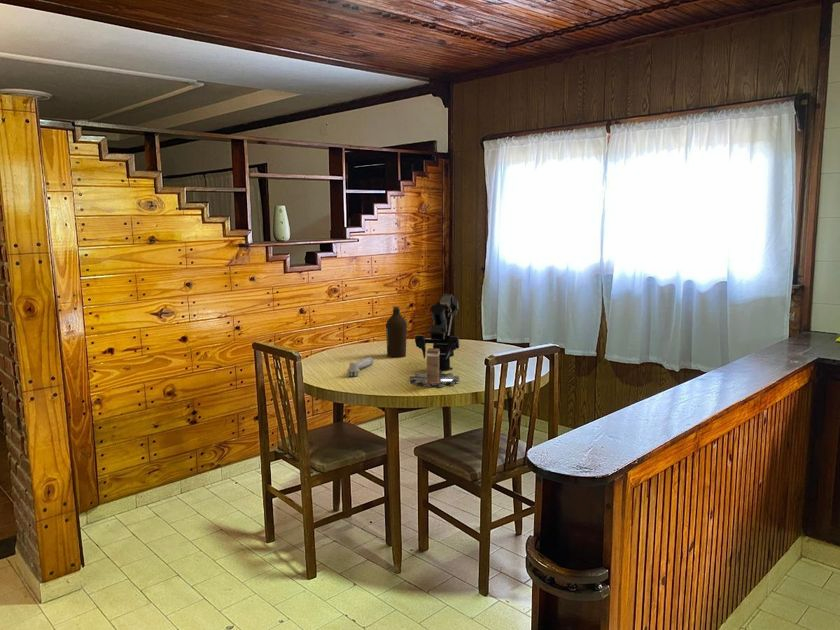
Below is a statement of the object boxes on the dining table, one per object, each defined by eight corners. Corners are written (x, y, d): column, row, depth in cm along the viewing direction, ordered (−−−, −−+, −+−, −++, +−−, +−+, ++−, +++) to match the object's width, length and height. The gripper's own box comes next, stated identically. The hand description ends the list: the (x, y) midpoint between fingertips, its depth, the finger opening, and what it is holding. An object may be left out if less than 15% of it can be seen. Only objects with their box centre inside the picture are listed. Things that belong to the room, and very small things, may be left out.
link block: (428, 378, 261) (428, 348, 259) (439, 379, 260) (439, 348, 258) (426, 381, 257) (426, 350, 255) (437, 381, 256) (437, 351, 254)
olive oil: (408, 353, 318) (408, 305, 314) (405, 358, 307) (405, 308, 304) (388, 353, 319) (387, 304, 315) (384, 357, 309) (383, 307, 305)
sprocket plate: (400, 378, 268) (400, 373, 268) (442, 372, 279) (442, 367, 278) (425, 390, 250) (425, 384, 250) (468, 383, 260) (468, 378, 260)
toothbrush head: (375, 357, 294) (357, 361, 269) (374, 371, 294) (356, 376, 270) (364, 356, 295) (345, 360, 271) (364, 370, 295) (345, 375, 271)
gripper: (415, 316, 266) (410, 347, 257) (459, 317, 263) (455, 348, 254) (418, 331, 275) (414, 361, 266) (461, 332, 272) (457, 363, 263)
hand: (434, 358), depth 262 cm, fingers open, 9 cm apart
